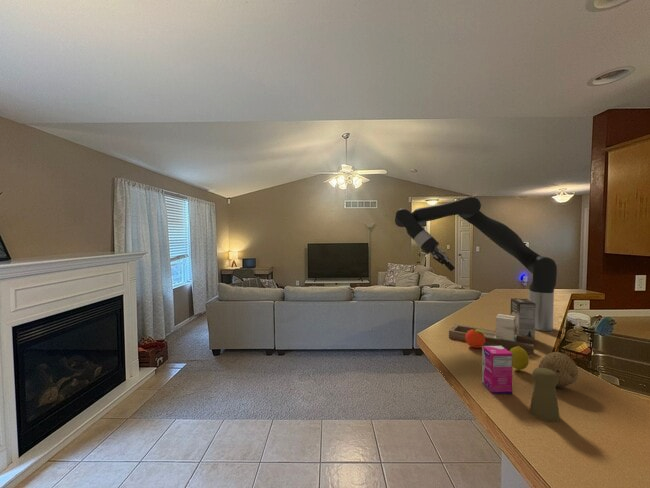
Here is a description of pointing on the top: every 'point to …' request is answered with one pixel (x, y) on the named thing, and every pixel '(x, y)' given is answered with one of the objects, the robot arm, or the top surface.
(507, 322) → the cream block
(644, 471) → the top surface
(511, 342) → the walnut lane
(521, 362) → the lemon
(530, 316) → the coffee box
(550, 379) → the olive tapered cylinder
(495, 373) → the supplement box
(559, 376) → the natural sponge
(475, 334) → the clementine
